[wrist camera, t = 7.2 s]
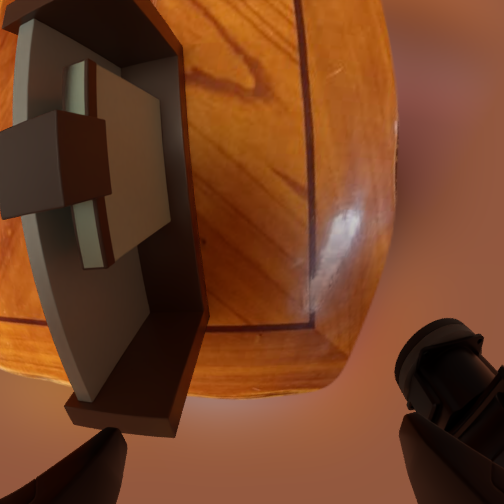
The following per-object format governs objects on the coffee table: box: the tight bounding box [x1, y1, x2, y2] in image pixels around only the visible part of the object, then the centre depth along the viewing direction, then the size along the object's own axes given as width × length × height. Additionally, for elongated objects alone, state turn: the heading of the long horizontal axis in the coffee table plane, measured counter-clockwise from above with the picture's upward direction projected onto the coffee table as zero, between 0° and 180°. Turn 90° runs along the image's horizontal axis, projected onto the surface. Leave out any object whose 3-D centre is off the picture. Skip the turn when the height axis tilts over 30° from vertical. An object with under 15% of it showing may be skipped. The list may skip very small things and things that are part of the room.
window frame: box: [2, 0, 210, 438], centre depth 14 cm, size 5×18×11 cm, turn 5°
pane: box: [0, 58, 171, 270], centre depth 12 cm, size 2×7×11 cm, turn 5°
